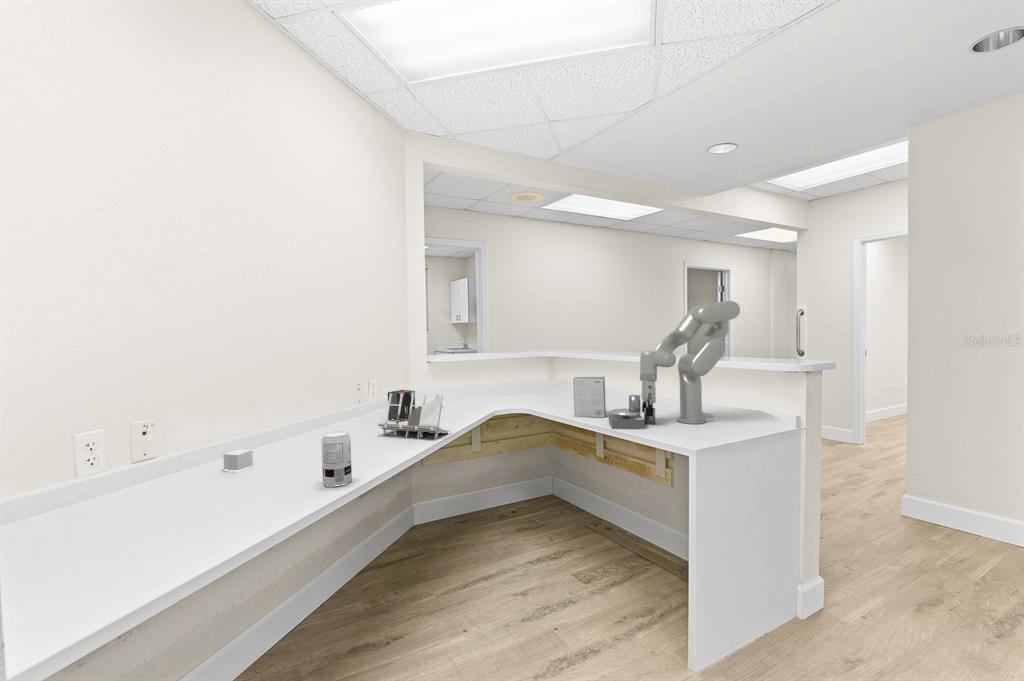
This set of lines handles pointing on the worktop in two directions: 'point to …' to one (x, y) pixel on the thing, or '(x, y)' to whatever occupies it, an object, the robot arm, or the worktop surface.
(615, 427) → the scale body
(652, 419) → the steel spacer
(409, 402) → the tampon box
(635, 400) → the cylinder
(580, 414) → the hard drive box
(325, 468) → the supplement can
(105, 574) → the worktop surface
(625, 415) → the scale pan
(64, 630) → the worktop surface
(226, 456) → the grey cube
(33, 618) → the worktop surface
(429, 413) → the architectural model
